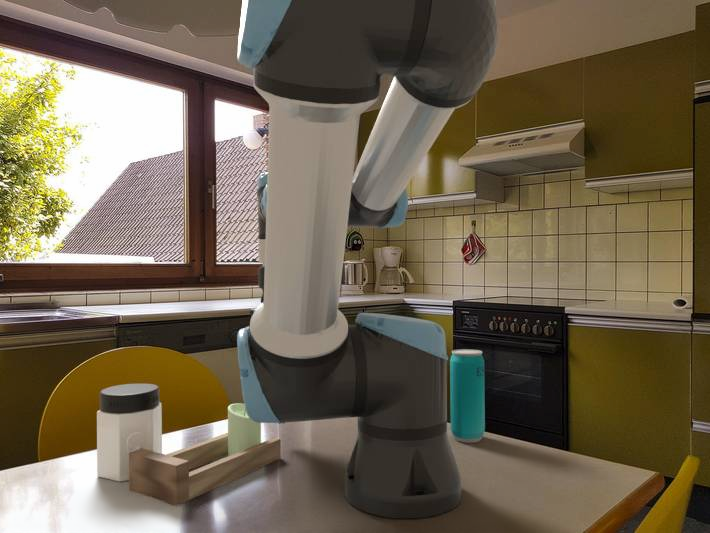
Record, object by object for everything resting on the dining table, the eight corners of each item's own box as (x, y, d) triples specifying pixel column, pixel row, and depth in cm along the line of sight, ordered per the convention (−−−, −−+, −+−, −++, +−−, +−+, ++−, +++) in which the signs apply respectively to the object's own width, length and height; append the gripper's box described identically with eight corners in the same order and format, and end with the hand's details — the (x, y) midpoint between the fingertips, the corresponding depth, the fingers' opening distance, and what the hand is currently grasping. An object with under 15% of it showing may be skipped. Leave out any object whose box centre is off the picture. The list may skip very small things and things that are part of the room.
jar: (102, 486, 75) (101, 398, 75) (92, 468, 82) (92, 387, 82) (169, 472, 80) (168, 390, 80) (155, 456, 87) (154, 380, 87)
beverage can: (489, 437, 95) (488, 350, 95) (478, 446, 91) (477, 355, 91) (458, 432, 99) (457, 347, 99) (445, 440, 94) (444, 352, 94)
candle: (267, 455, 87) (266, 403, 87) (249, 466, 82) (249, 411, 82) (240, 451, 89) (239, 400, 89) (221, 461, 84) (221, 408, 84)
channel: (280, 458, 86) (280, 426, 86) (176, 505, 69) (176, 465, 69) (236, 447, 91) (236, 417, 91) (129, 490, 74) (129, 452, 74)
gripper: (288, 264, 101) (288, 393, 101) (237, 265, 90) (238, 409, 90) (321, 264, 97) (322, 398, 97) (272, 265, 86) (273, 416, 86)
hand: (281, 403), depth 94 cm, fingers closed
